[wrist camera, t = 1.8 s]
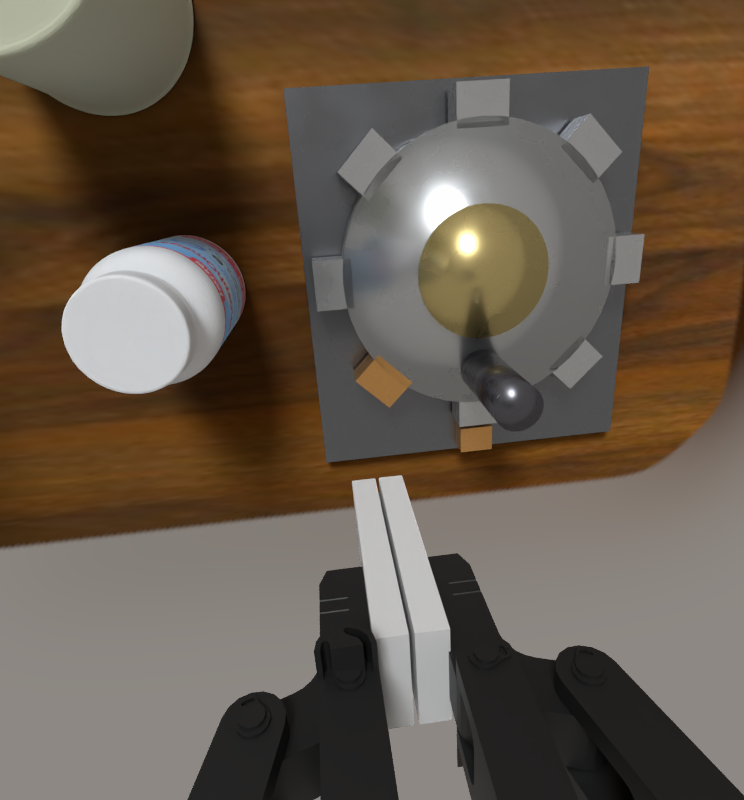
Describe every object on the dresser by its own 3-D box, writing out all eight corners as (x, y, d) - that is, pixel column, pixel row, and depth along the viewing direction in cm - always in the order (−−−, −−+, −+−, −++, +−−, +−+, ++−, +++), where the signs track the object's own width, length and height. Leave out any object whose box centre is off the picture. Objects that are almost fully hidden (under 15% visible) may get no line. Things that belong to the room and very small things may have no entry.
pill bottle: (268, 298, 31) (245, 350, 20) (190, 360, 31) (129, 442, 21) (194, 209, 28) (125, 217, 18) (112, 279, 29) (2, 325, 19)
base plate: (326, 455, 35) (326, 471, 33) (284, 92, 27) (282, 83, 25) (602, 425, 36) (619, 438, 34) (638, 70, 28) (663, 60, 26)
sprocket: (330, 428, 33) (335, 494, 25) (294, 98, 26) (287, 60, 19) (608, 398, 34) (689, 453, 27) (642, 76, 27) (761, 33, 20)
